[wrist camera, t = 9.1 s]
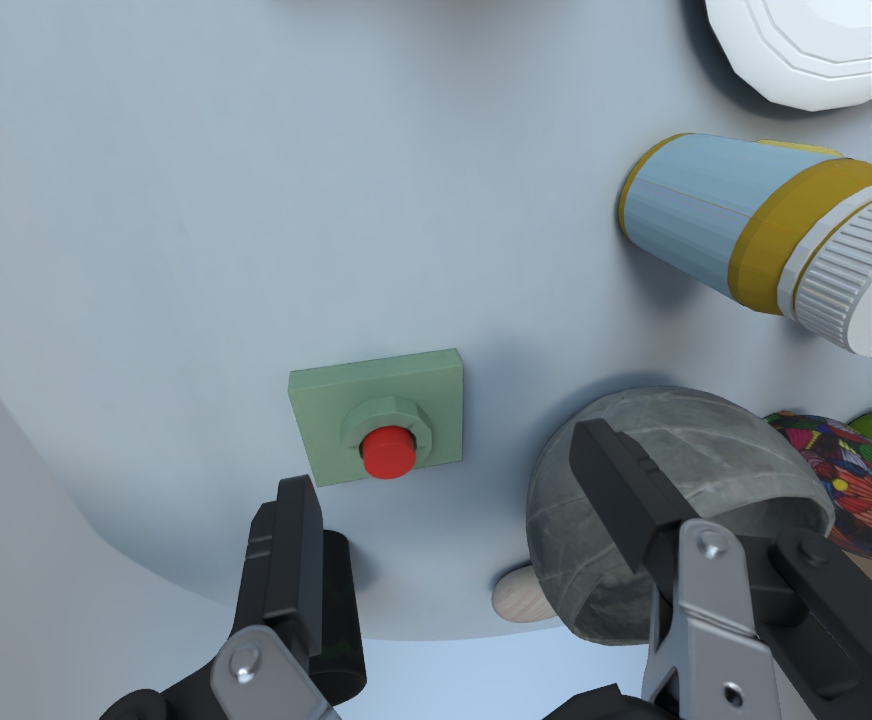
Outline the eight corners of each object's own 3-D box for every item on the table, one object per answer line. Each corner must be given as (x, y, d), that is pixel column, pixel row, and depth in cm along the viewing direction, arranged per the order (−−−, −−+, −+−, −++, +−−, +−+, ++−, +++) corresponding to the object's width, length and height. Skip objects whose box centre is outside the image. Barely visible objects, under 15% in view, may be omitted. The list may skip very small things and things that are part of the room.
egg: (787, 454, 50) (932, 576, 38) (708, 472, 48) (833, 605, 36) (830, 386, 44) (1021, 506, 32) (742, 405, 42) (906, 537, 30)
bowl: (604, 298, 31) (777, 443, 19) (735, 391, 41) (905, 525, 29) (446, 475, 39) (498, 657, 27) (588, 518, 49) (673, 664, 37)
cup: (263, 560, 40) (242, 713, 31) (304, 515, 38) (296, 666, 28) (331, 574, 44) (332, 714, 35) (373, 534, 42) (386, 673, 32)
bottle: (594, 233, 28) (798, 357, 16) (648, 117, 24) (963, 162, 12) (674, 252, 30) (906, 373, 18) (734, 147, 26) (1073, 211, 14)
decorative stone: (482, 597, 55) (494, 639, 51) (489, 560, 49) (503, 603, 45) (571, 579, 57) (589, 617, 53) (586, 542, 52) (608, 581, 48)
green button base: (317, 466, 35) (316, 506, 31) (289, 371, 29) (285, 408, 26) (456, 441, 36) (468, 477, 33) (455, 348, 31) (470, 380, 28)
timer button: (365, 464, 31) (367, 483, 29) (359, 429, 28) (360, 448, 27) (413, 456, 31) (417, 474, 30) (410, 421, 29) (414, 439, 28)
